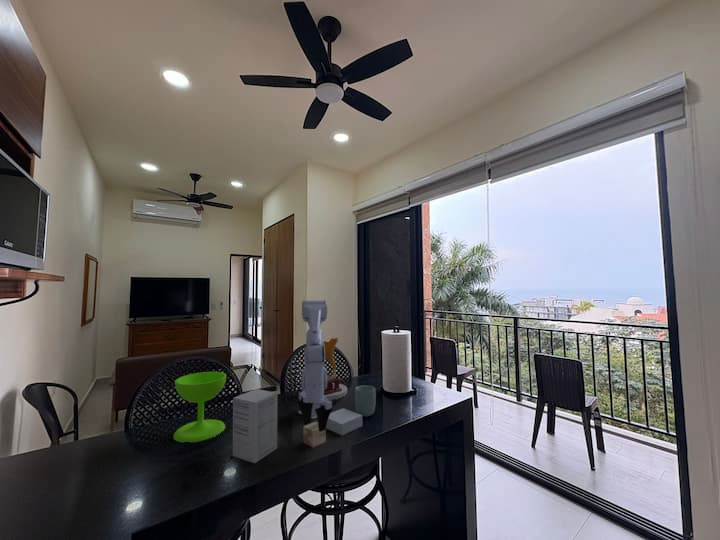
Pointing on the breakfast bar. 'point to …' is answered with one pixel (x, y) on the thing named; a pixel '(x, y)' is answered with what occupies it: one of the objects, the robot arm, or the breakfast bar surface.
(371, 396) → the cup
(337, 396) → the gramophone
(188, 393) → the wineglass
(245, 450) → the supplement box
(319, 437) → the maple cube
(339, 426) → the grey base block
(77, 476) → the breakfast bar surface
